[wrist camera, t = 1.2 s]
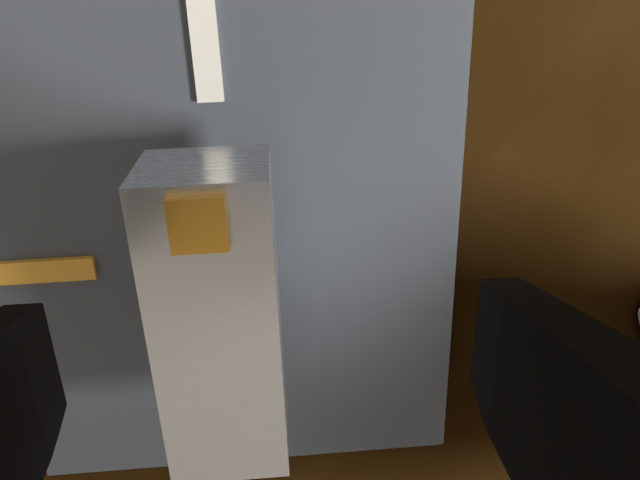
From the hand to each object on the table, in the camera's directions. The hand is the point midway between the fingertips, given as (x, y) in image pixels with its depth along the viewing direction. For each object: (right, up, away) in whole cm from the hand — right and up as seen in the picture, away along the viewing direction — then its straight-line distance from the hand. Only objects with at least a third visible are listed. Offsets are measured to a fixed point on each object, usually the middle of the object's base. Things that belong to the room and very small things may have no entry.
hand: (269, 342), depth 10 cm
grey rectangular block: (-2, +1, +8) cm, 8 cm away
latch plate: (-2, +2, +9) cm, 10 cm away
